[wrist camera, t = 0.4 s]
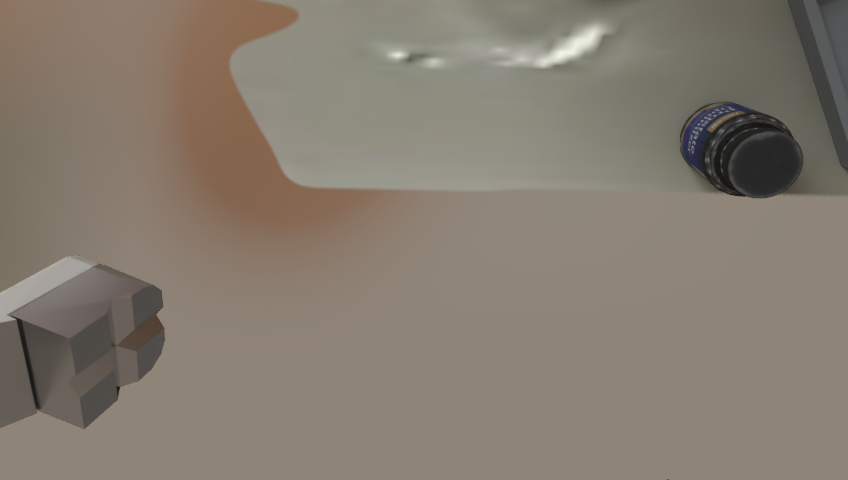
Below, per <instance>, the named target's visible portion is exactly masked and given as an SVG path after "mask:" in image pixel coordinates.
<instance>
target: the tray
mask: <svg viewBox="0 0 848 480" xmlns="http://www.w3.org/2000/svg"><path fill="white" fill-rule="evenodd" d="M788 1H789V5H790V8H791V11H792V14H793V17H794V20H795V23H796V26H797V29H798V33H799V36H800V39H801V42H802V45H803V48H804V51H805V54H806V58H807V61H808V64H809V67H810V70H811V73H812V76H813V79H814V82H815V86H816V89H817V92H818V95H819V98H820V101H821V104H822V107H823V110H824V114H825V117H826V120H827V123H828V126H829V129H830V132H831V135H832V139H833V142H834V145H835V148H836V151H837V154H838V157H839V160H840V163H841V166H843V167H845V168H847V169H848V0H788Z"/></svg>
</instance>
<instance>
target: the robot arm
mask: <svg viewBox="0 0 848 480" xmlns="http://www.w3.org/2000/svg"><path fill="white" fill-rule="evenodd" d="M162 308H163V299H162V291H161V290H160V289H159V288H157V287H156V286H154V285H152V284H150V283H147V282H144V281H142V280H140V279H137V278H135V277H133V276H130V275H128V274H125V273H123V272H120V271H118V270H115V269H113V268H111V267H108V266H106V265H101V264H99V263H97V262H94V261H92V260H89V259H87V258H84V257H82V256H80V255H79V256H67V257H66V258H64V259H62V260H60V261H58V262H56V263H54V264H53V265H51V266H49V267H47V268H45V269H43V270H42V271H40V272H38V273H36V274H34V275H32V276H31V277H29V278H27V279H25V280H23V281H21V282H20V283H18V284H16V285H14V286H12V287H10V288H9V289H7V290H5V291H3V292H1V293H0V428H2V427H4V426H7V425H9V424H12V423H14V422H16V421H19V420H21V419H24V418H26V417H29V416H31V415H34V414H36V413H37V410H38V411H40V412H43V413H45V414H48V415H50V416H53V417H55V418H58V419H60V420H63V421H66V422H68V423H70V424H73V425H75V426H78V427H80V428H83V429H85V428H86V427H87V426H88V425H89V424H91V423H92V422H93V421H94V420H95V419H96V418H98V417H99V416H100V415H101V414H102V413H103V412H104V411H105V410H107V409H108V408H109V407H110V406H111V405H112V404H113V403H114V402H116V401H117V400H118V395H119V390H120V387H121V386H124V385H127V384H131V383H133V382H137V381H139V380H140V379H141V378H142V377H143V376H145V375H146V374H147V373H148V372H149V371H150V370H151V369H152V368H153V366H154V364H155V363H156V361H157V359H158V358H159V356H160V355H161V352H162V349H163V345H164V341H165V333H164V327H163V325H162V324H161V322H160V320H159V319H158V317H157V315H156V314H157V313H158V312H159V311H160V310H161V309H162Z"/></svg>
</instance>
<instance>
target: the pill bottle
mask: <svg viewBox="0 0 848 480" xmlns="http://www.w3.org/2000/svg"><path fill="white" fill-rule="evenodd" d="M680 142H681V153H682V156H683V157H684V159H685V160H686V162H687V163H688V164H689V165H690V166H691V167H692V168H694V169H695V170H696V171H697V172H698V173H700V174H701V175H702V176H703V177H704V178H706V179H707V180H708V181H709V182H710V183H711V184H713V185H714V186H715V187H716V188H717V189H718V190H721V191H723V192H725V193H727V194H730V195H734V196H744V197H745V196H748V197H752V198H767V197H772V196H775V195H777V194H780V193H781V192H783V191H784V190H786V189H788V188H789V187H790V186H791V185H792V184H793V183H794V182H795V180H796V179H797V178H798V176H799V174H800V172H801V169H802V165H803V155H802V151H801V148H800V146H799V145H798V143H797V142H796V141H795V140H794V138H793V136H792V134H791V132H790V131H789V129H788V128H787V127H786V126H785V124H783V123H782V122H781V121H779V120H778V119H776V118H774V117H771V116H769V115H766V114H763V113H760V112H757V111H755V110H752V109H749V108H746V107H743V106H741V105H738V104H735V103H731V102H720V103H712V104H708V105H706V106H704V107H702V108H700V109H699V110H697V111H696V112H695V113H694V114H693V115H692V116H690V118H689V119H688V120H687V122H686V123H685V125H684V126H683V129H682V131H681V135H680Z"/></svg>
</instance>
